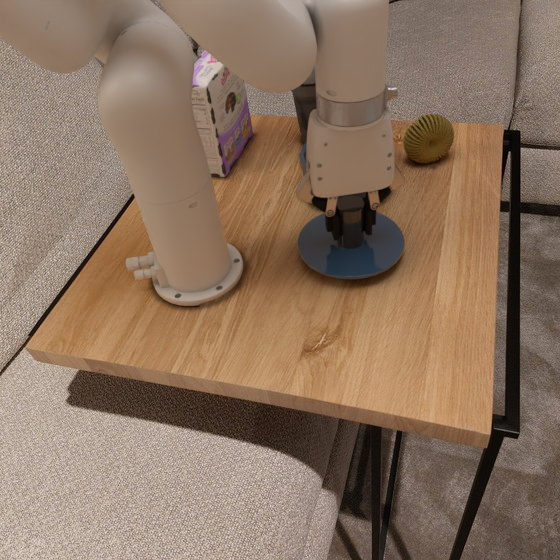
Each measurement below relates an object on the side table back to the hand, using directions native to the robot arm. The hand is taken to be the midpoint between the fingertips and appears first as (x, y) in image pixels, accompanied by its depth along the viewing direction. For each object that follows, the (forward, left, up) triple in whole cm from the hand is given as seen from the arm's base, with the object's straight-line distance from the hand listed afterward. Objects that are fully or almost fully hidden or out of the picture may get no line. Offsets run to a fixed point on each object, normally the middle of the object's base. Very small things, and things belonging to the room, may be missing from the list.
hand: (350, 230), depth 77 cm
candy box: (-15, +32, -5) cm, 36 cm away
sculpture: (+17, +19, -5) cm, 26 cm away
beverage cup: (+1, +32, -5) cm, 32 cm away
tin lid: (0, 0, -2) cm, 2 cm away
